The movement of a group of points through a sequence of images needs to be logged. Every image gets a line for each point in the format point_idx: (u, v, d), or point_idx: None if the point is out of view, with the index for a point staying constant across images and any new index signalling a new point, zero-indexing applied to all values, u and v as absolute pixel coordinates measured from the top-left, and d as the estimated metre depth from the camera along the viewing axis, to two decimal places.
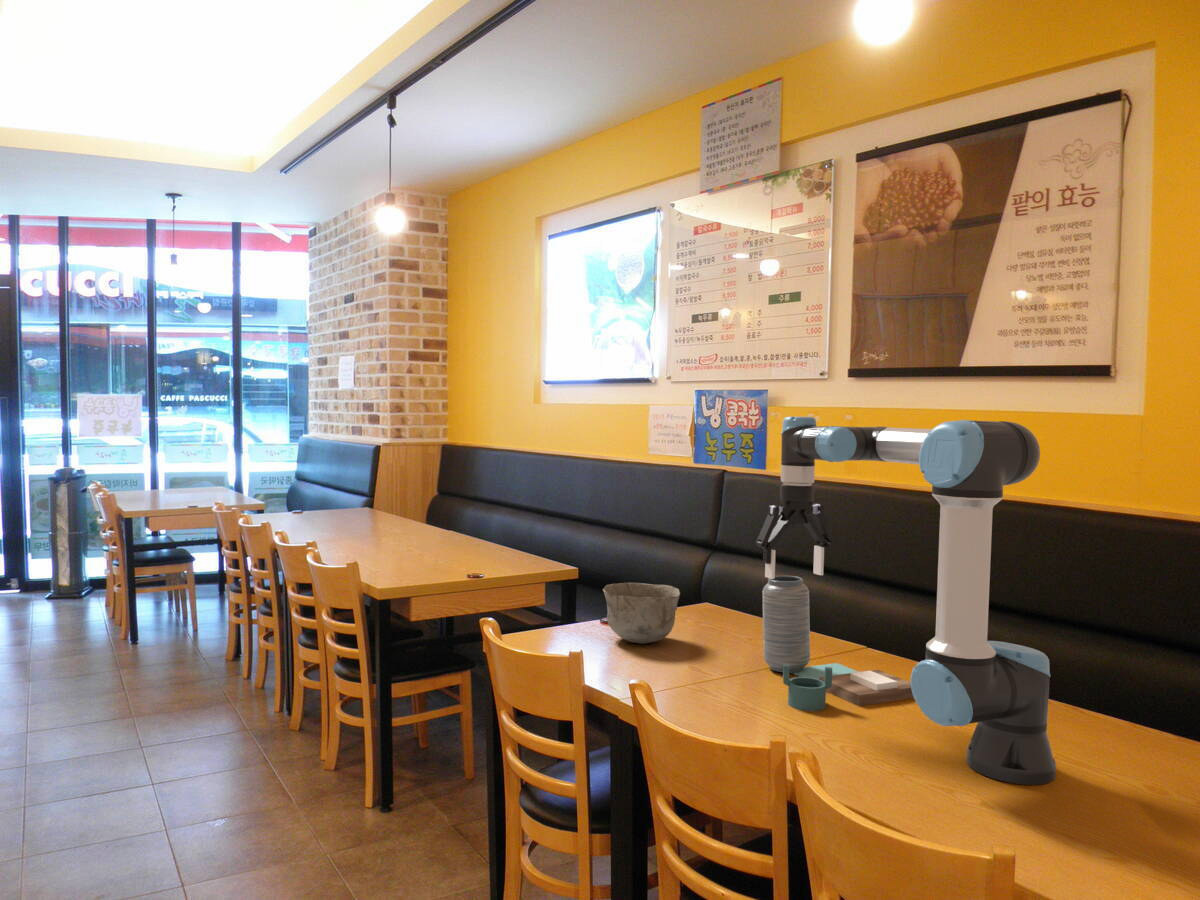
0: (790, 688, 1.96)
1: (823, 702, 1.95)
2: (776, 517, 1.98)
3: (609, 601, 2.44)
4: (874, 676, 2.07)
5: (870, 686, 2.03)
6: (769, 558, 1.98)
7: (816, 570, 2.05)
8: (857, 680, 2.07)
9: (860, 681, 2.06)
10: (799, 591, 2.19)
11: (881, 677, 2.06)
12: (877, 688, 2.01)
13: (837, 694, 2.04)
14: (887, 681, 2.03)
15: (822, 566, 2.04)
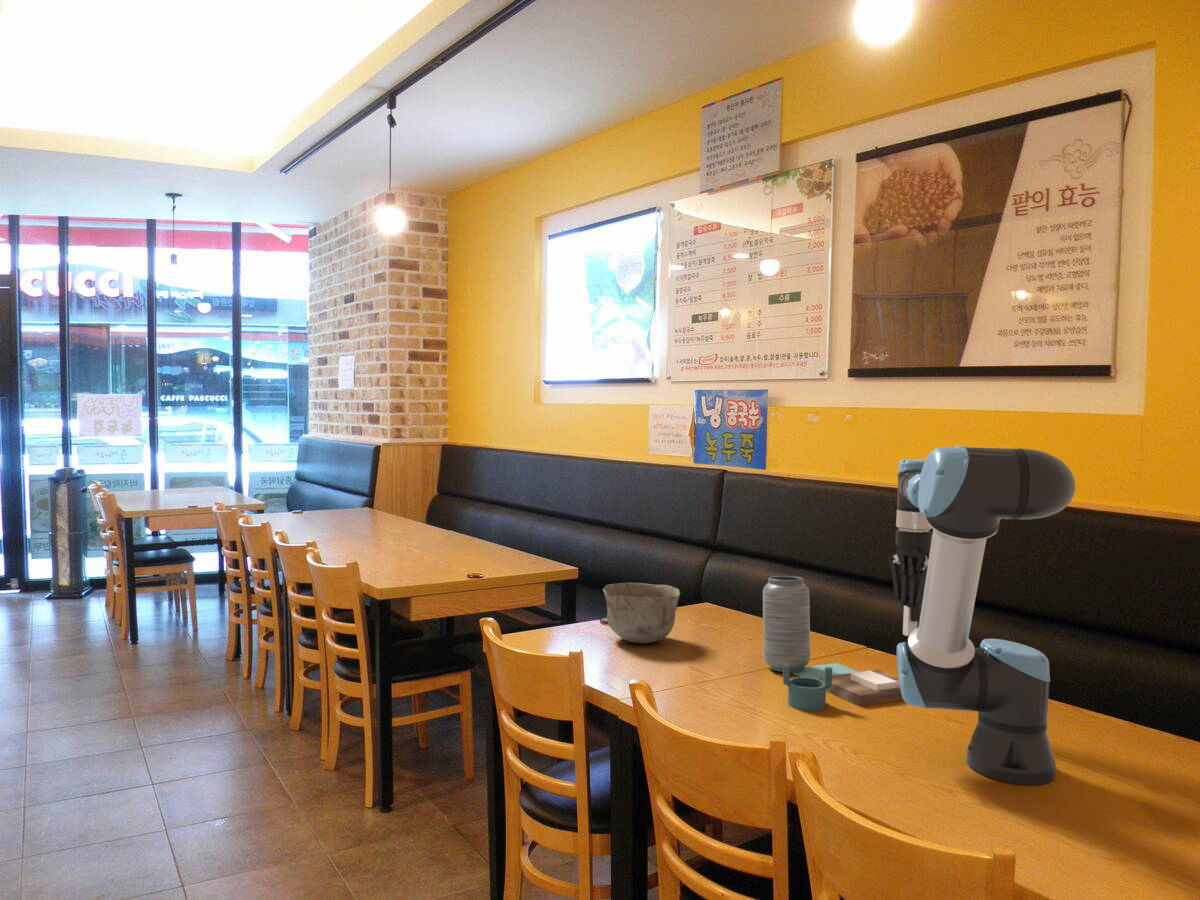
0: (790, 688, 1.96)
1: (823, 702, 1.95)
2: (893, 566, 1.99)
3: (609, 601, 2.44)
4: (874, 676, 2.07)
5: (870, 686, 2.03)
6: None
7: None
8: (857, 680, 2.07)
9: (860, 681, 2.06)
10: (799, 590, 2.20)
11: (881, 677, 2.06)
12: (877, 688, 2.01)
13: (837, 694, 2.04)
14: (887, 681, 2.03)
15: (907, 626, 1.95)
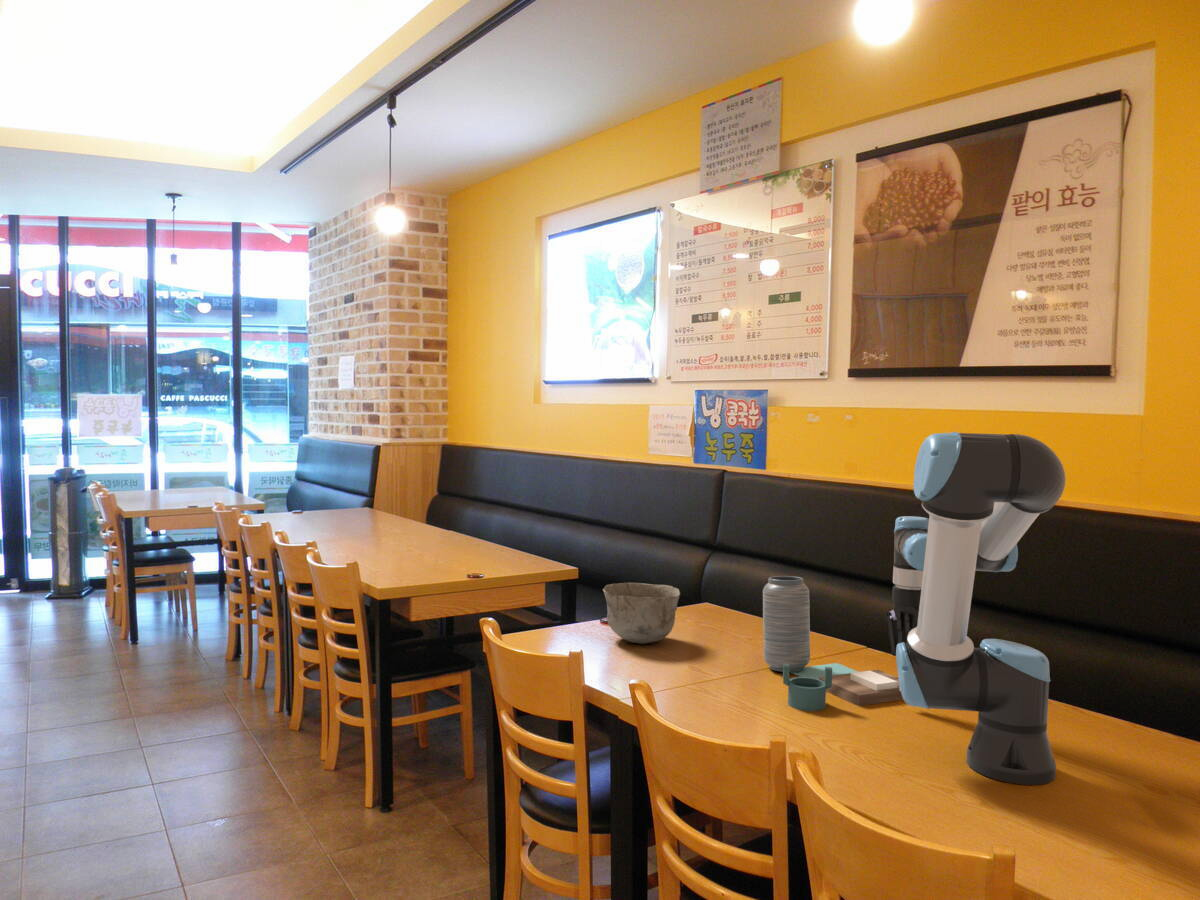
0: (790, 688, 1.96)
1: (823, 702, 1.95)
2: (890, 622, 1.99)
3: (609, 601, 2.44)
4: (874, 676, 2.07)
5: (870, 686, 2.03)
6: None
7: None
8: (857, 680, 2.07)
9: (860, 681, 2.06)
10: (799, 590, 2.20)
11: (881, 677, 2.06)
12: (877, 688, 2.01)
13: (837, 694, 2.04)
14: (887, 681, 2.03)
15: None
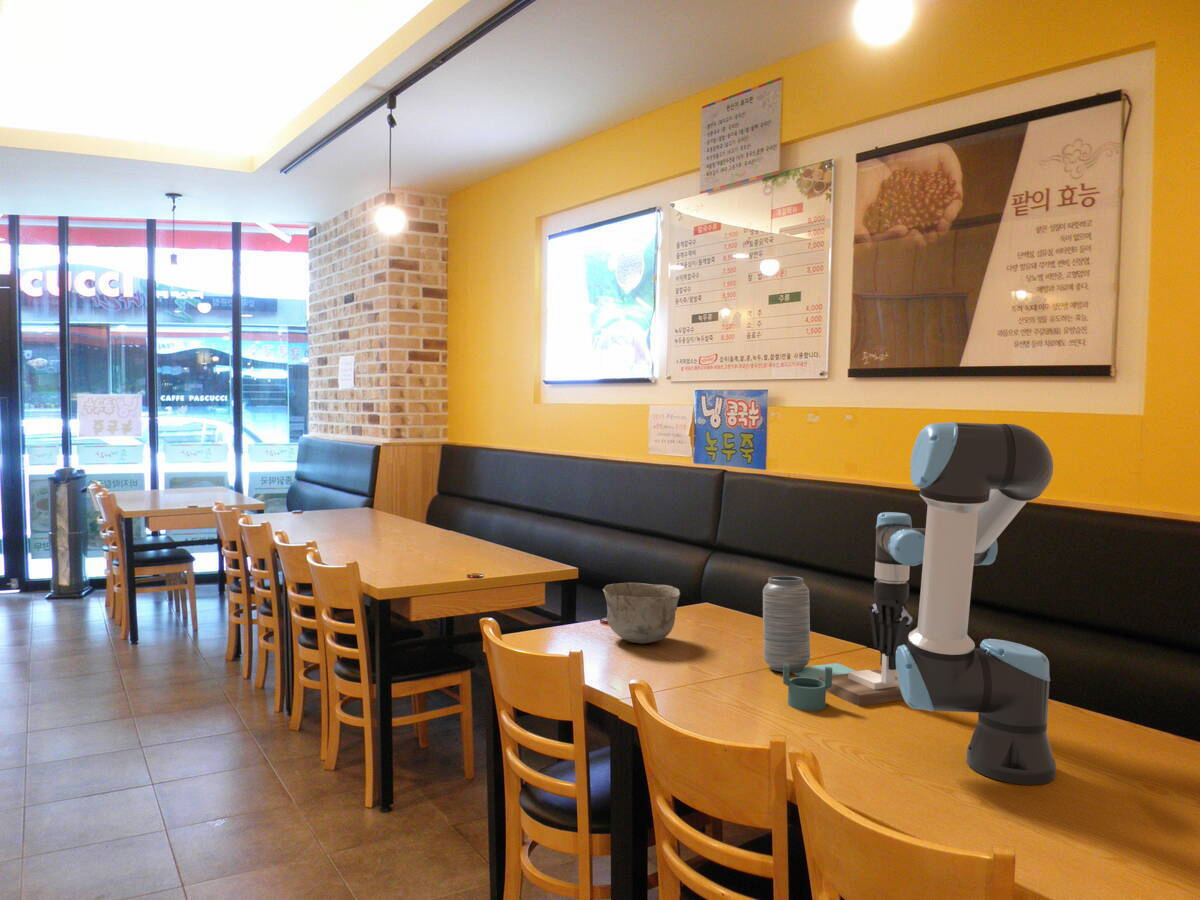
0: (790, 688, 1.96)
1: (823, 702, 1.95)
2: (872, 615, 2.05)
3: (609, 601, 2.44)
4: (871, 675, 2.07)
5: (868, 685, 2.03)
6: None
7: None
8: (855, 679, 2.07)
9: (858, 680, 2.06)
10: (799, 590, 2.20)
11: (878, 676, 2.07)
12: (875, 687, 2.02)
13: (837, 694, 2.04)
14: None
15: (885, 674, 2.01)
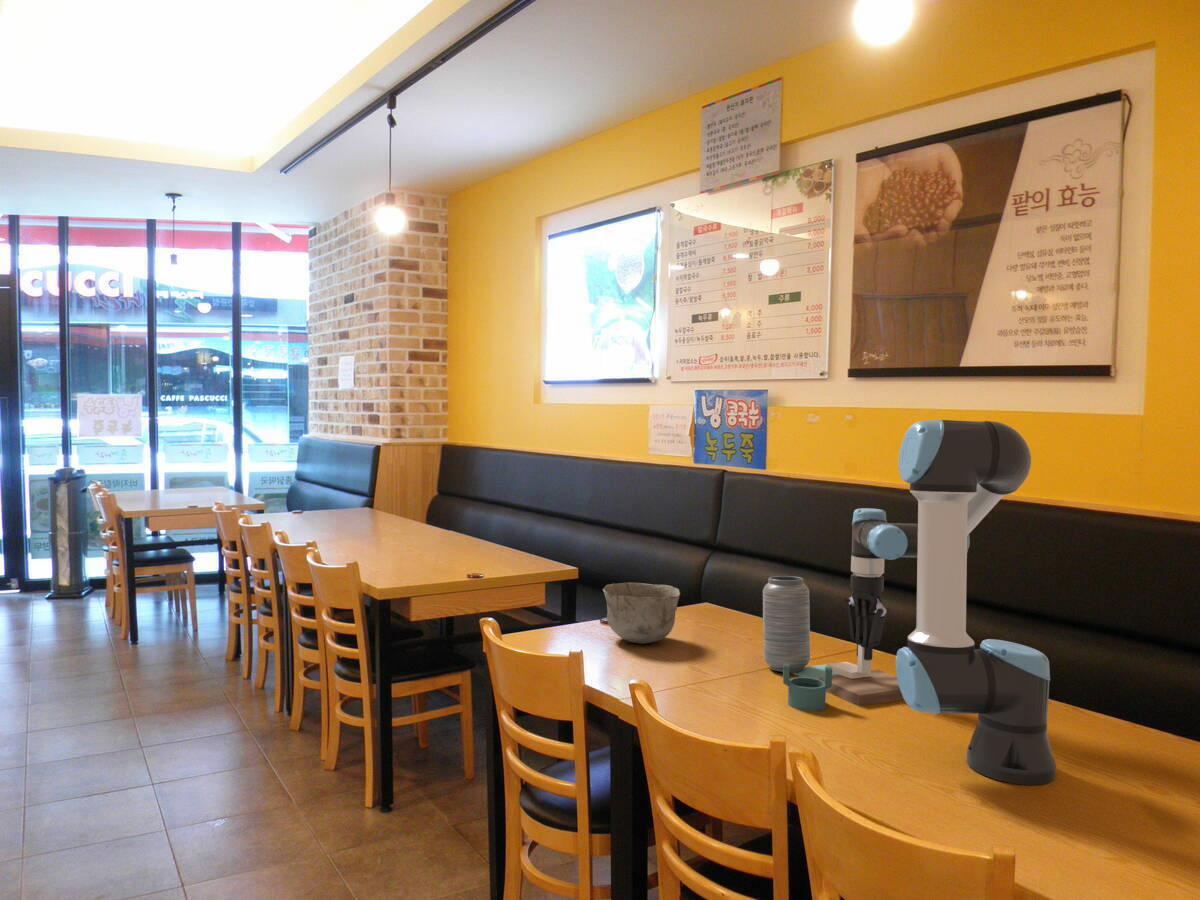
0: (790, 688, 1.96)
1: (823, 702, 1.95)
2: (849, 608, 2.12)
3: (609, 601, 2.44)
4: (849, 666, 2.15)
5: (845, 675, 2.11)
6: None
7: None
8: (833, 670, 2.15)
9: (836, 671, 2.14)
10: (799, 590, 2.20)
11: (855, 666, 2.14)
12: (852, 676, 2.09)
13: (837, 694, 2.04)
14: None
15: (860, 664, 2.08)
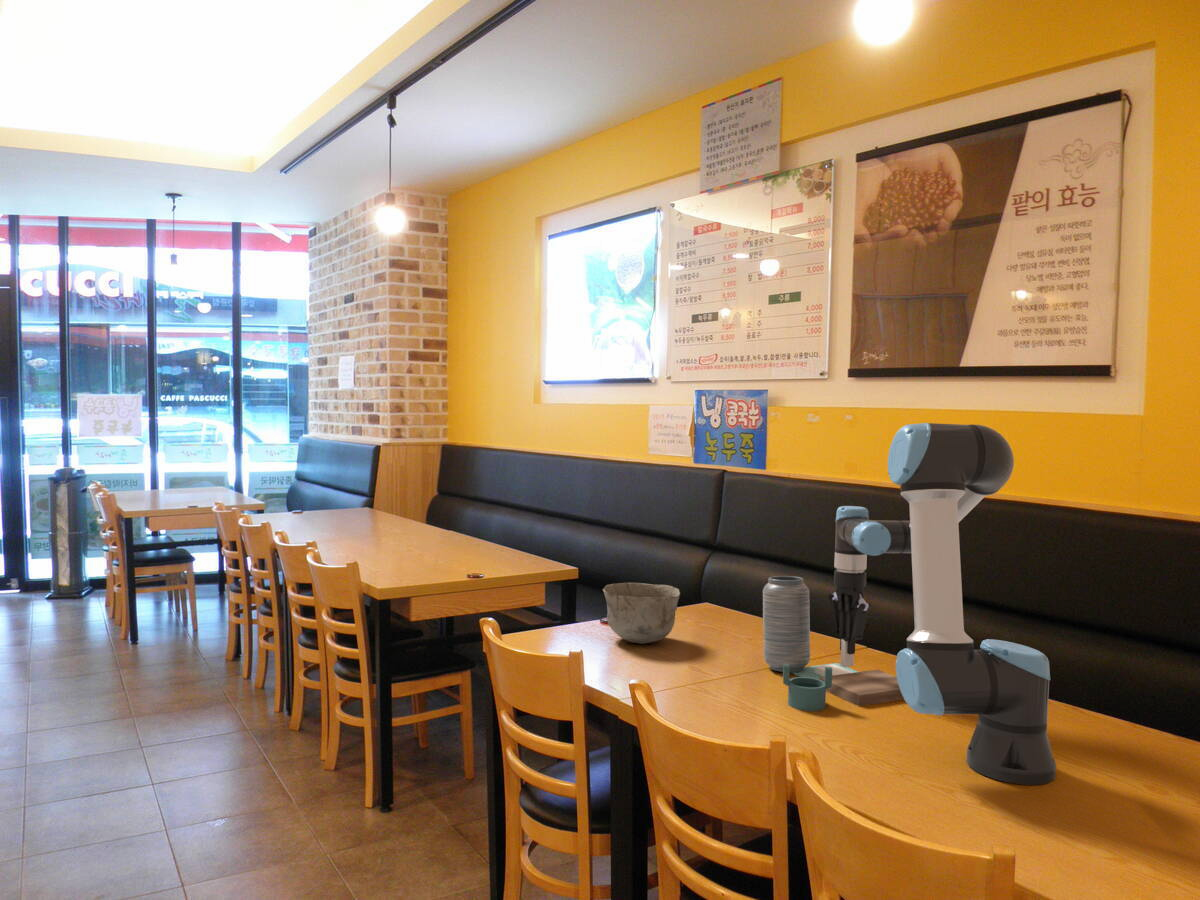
0: (790, 688, 1.96)
1: (823, 702, 1.95)
2: (832, 603, 2.17)
3: (609, 601, 2.44)
4: (836, 669, 2.19)
5: None
6: None
7: None
8: (820, 673, 2.19)
9: (823, 674, 2.18)
10: (799, 590, 2.20)
11: (843, 670, 2.18)
12: None
13: (837, 694, 2.04)
14: None
15: (844, 658, 2.14)
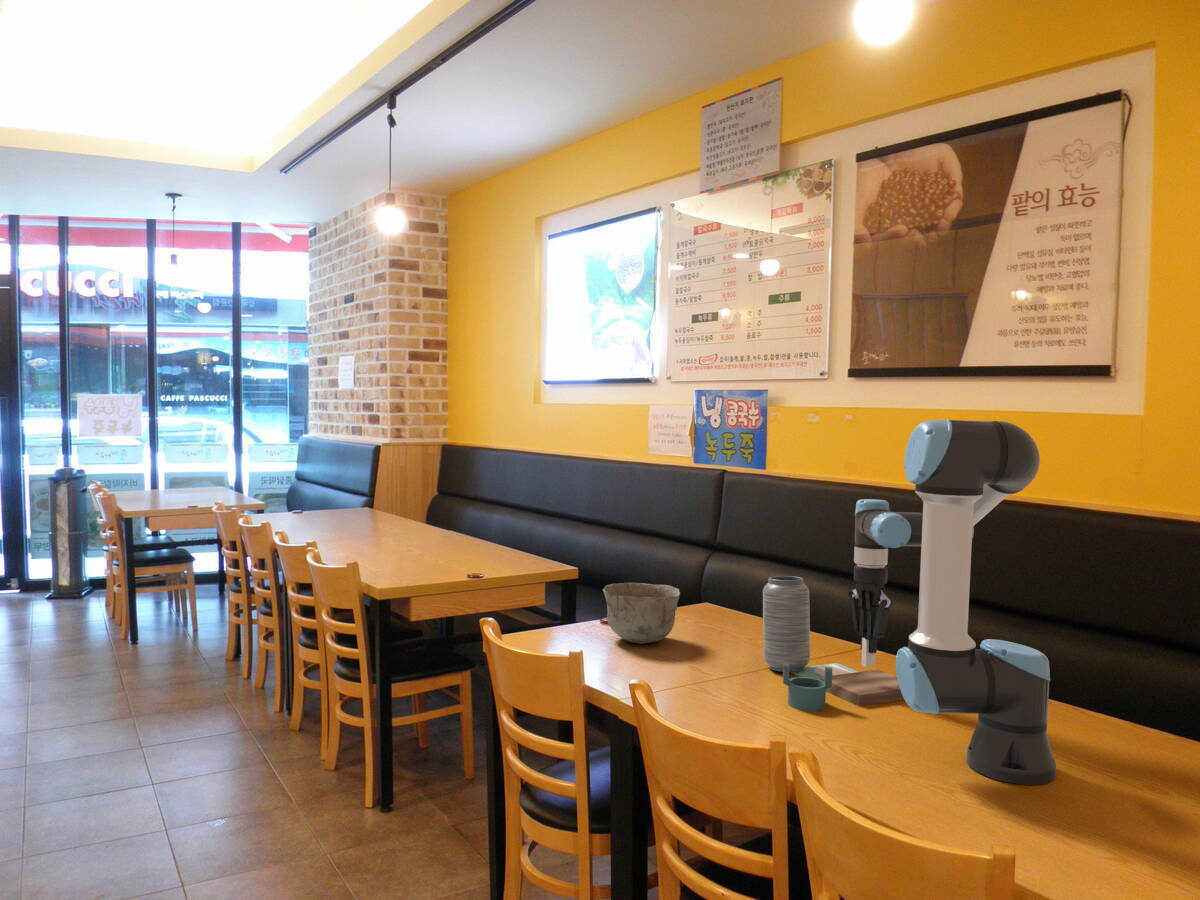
0: (790, 688, 1.96)
1: (823, 702, 1.95)
2: (852, 600, 2.10)
3: (609, 601, 2.44)
4: (836, 669, 2.19)
5: None
6: None
7: None
8: (820, 673, 2.19)
9: (823, 674, 2.18)
10: (799, 590, 2.20)
11: (843, 670, 2.18)
12: None
13: (837, 694, 2.04)
14: None
15: (865, 657, 2.05)
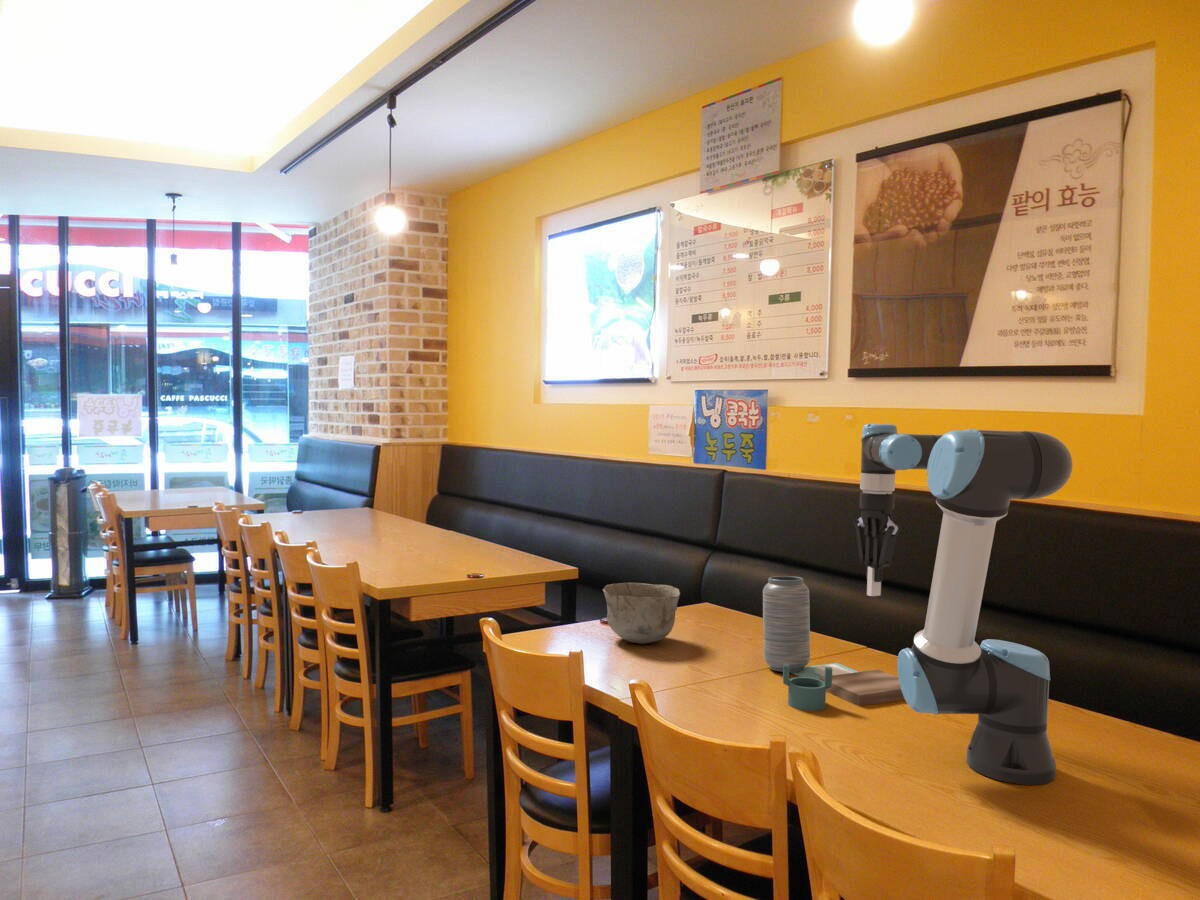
0: (790, 688, 1.96)
1: (823, 702, 1.95)
2: (858, 529, 2.03)
3: (609, 601, 2.44)
4: (836, 669, 2.19)
5: None
6: None
7: None
8: (820, 673, 2.19)
9: (823, 674, 2.18)
10: (799, 590, 2.20)
11: (843, 670, 2.18)
12: None
13: (837, 694, 2.04)
14: None
15: (870, 587, 1.99)
